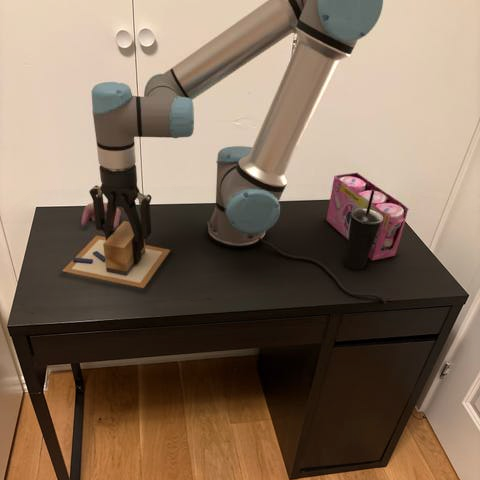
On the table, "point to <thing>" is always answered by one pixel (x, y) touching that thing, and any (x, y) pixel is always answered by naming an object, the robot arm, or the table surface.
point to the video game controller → (89, 214)
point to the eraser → (120, 250)
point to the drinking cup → (362, 235)
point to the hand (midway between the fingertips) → (126, 259)
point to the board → (98, 270)
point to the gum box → (356, 197)
